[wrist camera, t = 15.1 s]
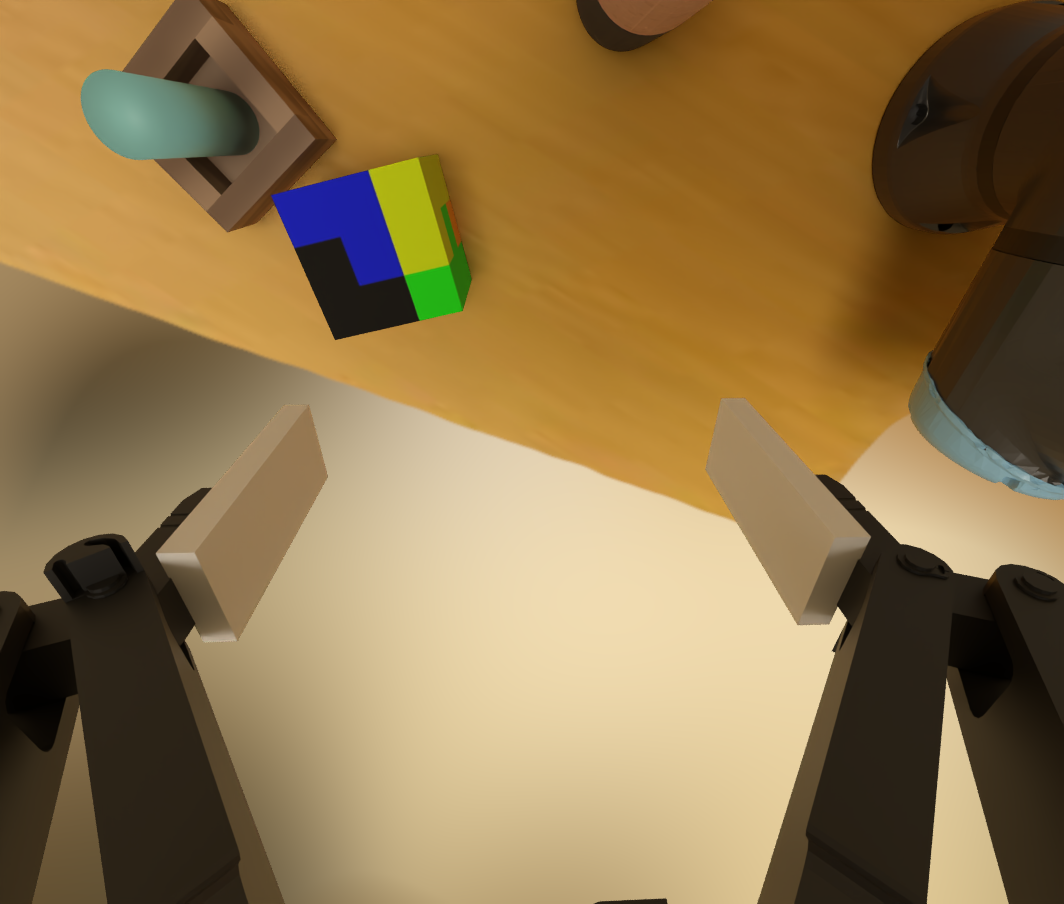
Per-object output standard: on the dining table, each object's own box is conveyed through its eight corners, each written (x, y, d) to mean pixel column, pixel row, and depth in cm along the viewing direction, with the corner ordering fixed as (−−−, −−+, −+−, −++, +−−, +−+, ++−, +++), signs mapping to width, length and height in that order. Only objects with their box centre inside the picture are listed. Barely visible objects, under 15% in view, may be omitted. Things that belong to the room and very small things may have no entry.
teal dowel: (270, 130, 37) (179, 125, 27) (237, 167, 38) (137, 176, 28) (223, 76, 35) (107, 49, 25) (190, 117, 36) (65, 107, 26)
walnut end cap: (336, 139, 39) (315, 139, 35) (256, 223, 42) (227, 232, 38) (225, 4, 35) (185, -16, 30) (144, 108, 38) (98, 104, 33)
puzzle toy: (320, 183, 41) (270, 195, 32) (437, 154, 40) (418, 157, 31) (367, 303, 46) (335, 340, 38) (471, 279, 45) (462, 311, 37)
